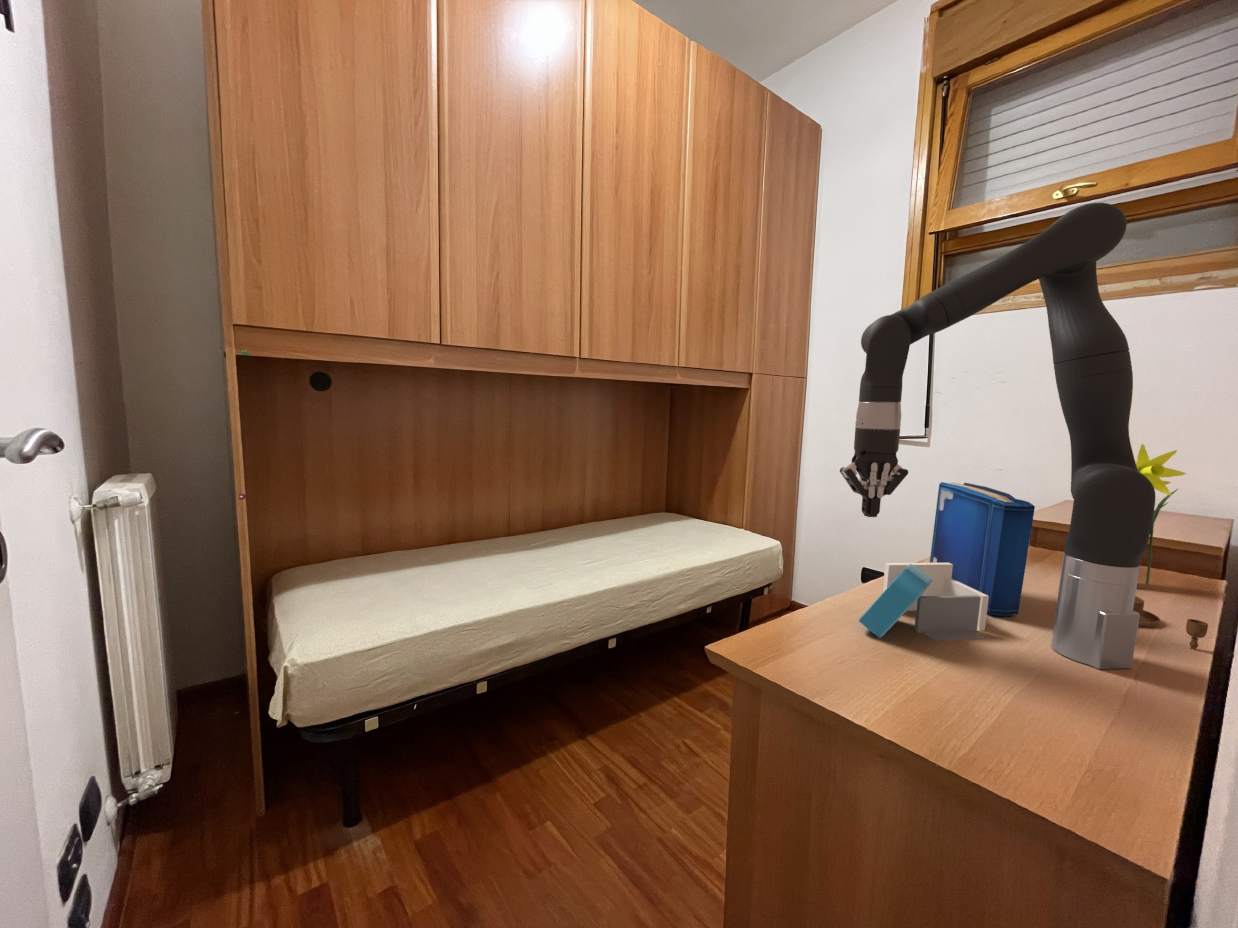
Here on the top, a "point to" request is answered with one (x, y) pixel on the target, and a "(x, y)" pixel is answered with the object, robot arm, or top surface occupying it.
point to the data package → (895, 600)
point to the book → (984, 541)
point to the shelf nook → (944, 603)
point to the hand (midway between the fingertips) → (870, 516)
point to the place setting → (1192, 627)
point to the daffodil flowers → (1156, 485)
